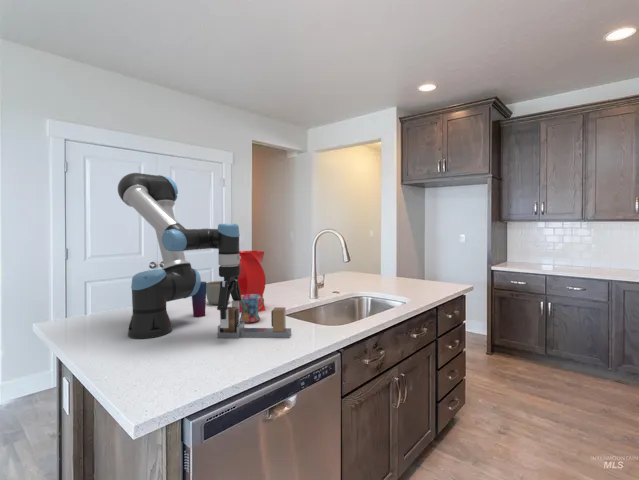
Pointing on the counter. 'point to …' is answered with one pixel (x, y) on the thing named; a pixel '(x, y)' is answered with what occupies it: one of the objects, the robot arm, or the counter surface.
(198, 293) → the cup
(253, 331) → the rail
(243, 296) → the mug
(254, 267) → the vase
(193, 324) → the counter surface
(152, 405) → the counter surface
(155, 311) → the robot arm
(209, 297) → the planter
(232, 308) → the block
